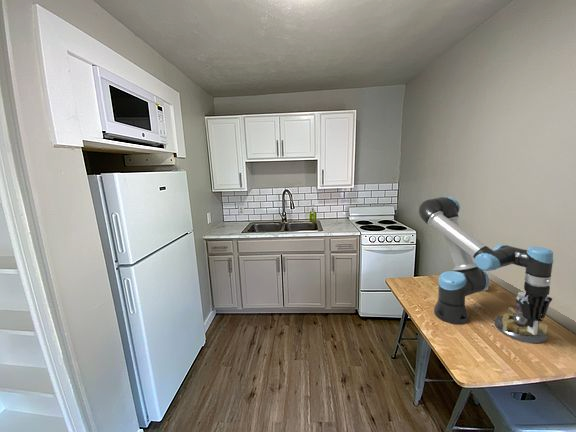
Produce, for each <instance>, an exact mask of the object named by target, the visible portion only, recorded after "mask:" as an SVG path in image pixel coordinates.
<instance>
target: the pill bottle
mask: <svg viewBox="0 0 576 432" xmlns="http://www.w3.org/2000/svg"><path fill="white" fill-rule="evenodd" d="M525 294H526V292H525V291H523V292H522V291H519V292H518V293H517V296H516V297H515V298H516V299H515V305H514V306H515V307H514V310H515V311H516V312H517V313H521V314H522V308H521V303H520V302H519V299H523V298H525Z"/></svg>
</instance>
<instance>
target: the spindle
mask: <svg viewBox="0 0 576 432" xmlns="http://www.w3.org/2000/svg"><path fill="white" fill-rule="evenodd" d="M513 320H514V321H515V324H516V325H518V326H522V327H527V319H526V318H524V317H523V314H522V313H519V312H517V313H514V319H513Z"/></svg>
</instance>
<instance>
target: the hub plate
mask: <svg viewBox="0 0 576 432" xmlns="http://www.w3.org/2000/svg"><path fill="white" fill-rule="evenodd" d="M502 318H503V315H499V316H496V317H495V318H494V321H493V322H494V323H493V324H494V327H495V328H496V329H497V331H499V332H500V333H502V335H504V336H506V337H508V338H511V339H513V340H515V341H518V342H521V343H526V344H527V343H528V344H533V345H534V344H536V345H538V344H543V343H545V342H547V339H548V333H547V334H546V335H545V334H542V333H539V332H538V333H537V335H536V336H530V335H521V334H518V333H515V332H513V331H511V330H508V331H506V330H504V329H503V324H502ZM527 327H528V325H527Z"/></svg>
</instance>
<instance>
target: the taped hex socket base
mask: <svg viewBox="0 0 576 432" xmlns="http://www.w3.org/2000/svg"><path fill="white" fill-rule="evenodd" d="M507 308H508V309H507V312H506V313H503V315H502V316H503V318H502V324H503V329H504V330H506V331H508V330H511V331H513V332H515V333H518V334H521V335H530V336H536V335H537V334H536V335H533V334H532V333H530V332H528V331H527V329H528V327H522V326H518V325H516V324H515V321H514V320H513V319H514V313H518V312H517V311H516V310H515V308H514V307H507ZM527 321H528V320H527ZM548 325H549V324H544V323H541V322H539V325H538V329H537V333H538V332H539V333H542V334H545V335H546V334H547V335H548Z"/></svg>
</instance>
